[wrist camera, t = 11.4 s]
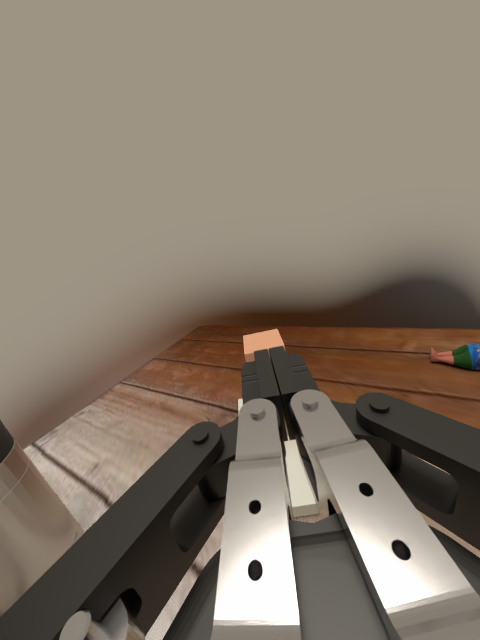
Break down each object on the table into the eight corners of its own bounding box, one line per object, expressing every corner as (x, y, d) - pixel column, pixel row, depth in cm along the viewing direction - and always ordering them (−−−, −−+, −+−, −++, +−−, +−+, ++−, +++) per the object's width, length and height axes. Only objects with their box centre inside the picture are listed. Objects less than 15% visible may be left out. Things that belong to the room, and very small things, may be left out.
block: (265, 440, 38) (244, 354, 32) (261, 413, 43) (243, 335, 38) (299, 434, 37) (284, 346, 32) (291, 407, 43) (277, 328, 37)
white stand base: (243, 525, 29) (236, 505, 28) (240, 406, 49) (236, 391, 48) (357, 507, 28) (355, 485, 27) (307, 394, 48) (305, 378, 47)
